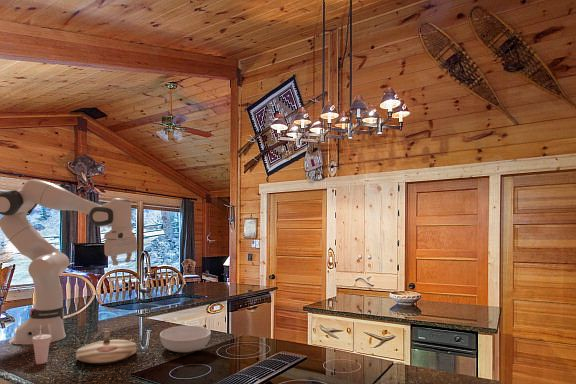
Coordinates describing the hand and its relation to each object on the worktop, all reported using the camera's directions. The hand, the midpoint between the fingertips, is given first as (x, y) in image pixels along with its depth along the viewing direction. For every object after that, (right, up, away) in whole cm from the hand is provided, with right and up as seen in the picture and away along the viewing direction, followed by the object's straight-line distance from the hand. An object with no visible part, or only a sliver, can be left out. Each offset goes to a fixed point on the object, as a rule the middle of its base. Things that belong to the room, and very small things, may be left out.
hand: (121, 263), depth 196 cm
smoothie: (-18, -32, -33) cm, 49 cm away
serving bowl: (+33, -33, -16) cm, 50 cm away
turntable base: (+5, -32, -27) cm, 42 cm away
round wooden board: (+5, -30, -27) cm, 41 cm away
